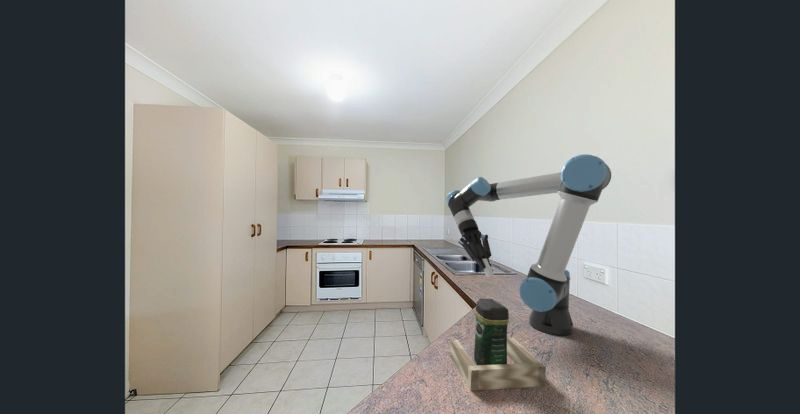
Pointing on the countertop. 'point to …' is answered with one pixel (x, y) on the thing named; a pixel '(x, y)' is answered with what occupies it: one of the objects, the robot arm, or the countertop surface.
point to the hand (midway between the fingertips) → (490, 276)
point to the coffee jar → (491, 333)
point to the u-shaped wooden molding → (500, 369)
